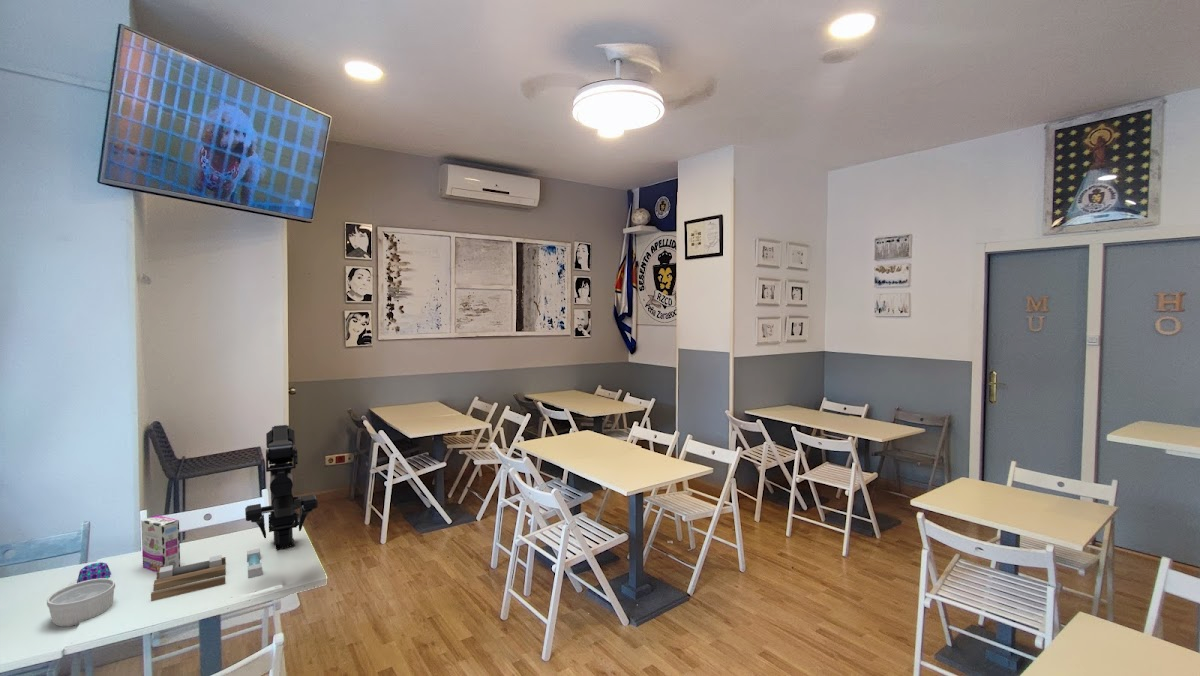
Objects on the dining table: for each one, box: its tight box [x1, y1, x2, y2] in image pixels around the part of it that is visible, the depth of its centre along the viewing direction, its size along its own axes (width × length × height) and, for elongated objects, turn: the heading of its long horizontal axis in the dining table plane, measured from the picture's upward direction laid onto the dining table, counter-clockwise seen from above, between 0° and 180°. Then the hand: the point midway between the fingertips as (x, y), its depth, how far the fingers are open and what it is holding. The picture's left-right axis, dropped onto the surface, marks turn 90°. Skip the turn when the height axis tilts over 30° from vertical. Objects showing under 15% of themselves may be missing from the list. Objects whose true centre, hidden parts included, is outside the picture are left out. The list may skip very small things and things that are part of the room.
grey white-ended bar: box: [159, 554, 223, 579], centre depth 164 cm, size 15×4×4 cm, turn 125°
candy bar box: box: [140, 514, 181, 573], centre depth 168 cm, size 11×5×16 cm, turn 68°
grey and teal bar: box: [246, 548, 263, 579], centre depth 170 cm, size 15×4×4 cm, turn 35°
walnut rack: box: [150, 556, 227, 602], centre depth 161 cm, size 15×17×3 cm
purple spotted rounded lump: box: [67, 561, 112, 586], centre depth 161 cm, size 12×12×5 cm
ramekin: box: [46, 578, 116, 628], centre depth 144 cm, size 13×13×7 cm
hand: (282, 534), depth 165 cm, fingers open, 9 cm apart
